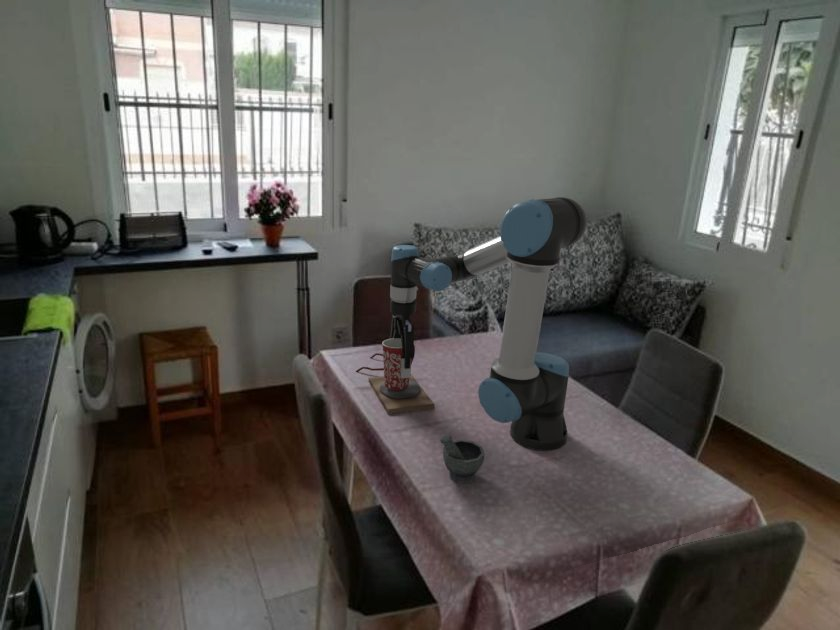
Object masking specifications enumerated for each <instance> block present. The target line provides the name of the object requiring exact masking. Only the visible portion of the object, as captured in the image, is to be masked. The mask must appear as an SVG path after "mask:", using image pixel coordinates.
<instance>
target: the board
mask: <svg viewBox="0 0 840 630" xmlns="http://www.w3.org/2000/svg"><path fill="white" fill-rule="evenodd" d="M368 383H370V384H369V386H370V387H371V388H372V390H373V392H374V393H375V395H376V397H377V398H378V400H379V402H380V403H381V405H382V408H383V409H384V410H385V412H386V413H387V415H390V414H391V413H393V414H400V413H407V412H408V413H409V412H415V411H424V410H430V409H431V410H433V409H435V403H434V402H433V400H432V399H431V397H430V396H428V394H427V393H426V391H425V390H424V389H423V387H422V386H421V385H420V384H419V382H418V381H417V380H416V378H415V376H414V375H413V374H412V373H411V378H409V386H408V387H407V388H405V389H401V390H393V389H389V388H387V387H386V386H385V380H384V375H381V376H373V377H368ZM391 415H392V414H391Z"/></svg>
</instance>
